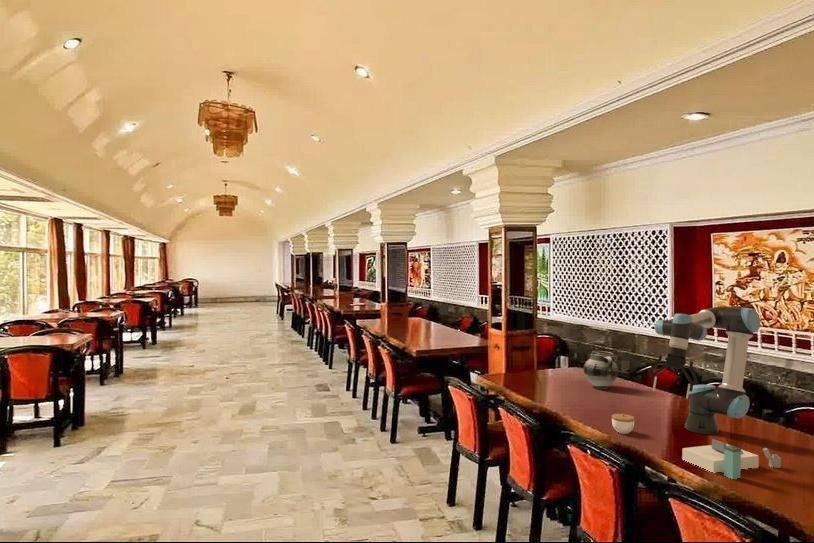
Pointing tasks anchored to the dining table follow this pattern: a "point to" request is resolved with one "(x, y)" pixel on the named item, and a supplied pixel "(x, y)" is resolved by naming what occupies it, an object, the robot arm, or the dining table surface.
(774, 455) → the lighter
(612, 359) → the ceramic pot
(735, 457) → the plug
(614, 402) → the dining table surface
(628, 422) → the lidded jar
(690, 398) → the robot arm
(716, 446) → the shutter
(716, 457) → the socket
